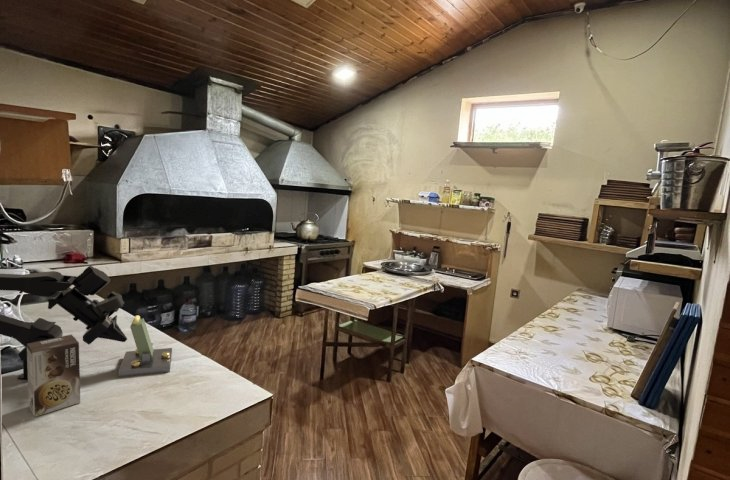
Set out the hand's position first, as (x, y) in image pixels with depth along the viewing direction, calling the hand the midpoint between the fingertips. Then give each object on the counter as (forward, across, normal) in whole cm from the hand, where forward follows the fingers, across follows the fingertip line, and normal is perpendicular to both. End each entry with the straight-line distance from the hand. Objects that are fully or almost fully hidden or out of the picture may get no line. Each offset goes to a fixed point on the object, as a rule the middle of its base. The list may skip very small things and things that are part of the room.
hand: (125, 340), depth 115 cm
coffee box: (-3, -18, +15) cm, 23 cm away
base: (+10, 0, +2) cm, 10 cm away
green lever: (+8, 0, 0) cm, 8 cm away
